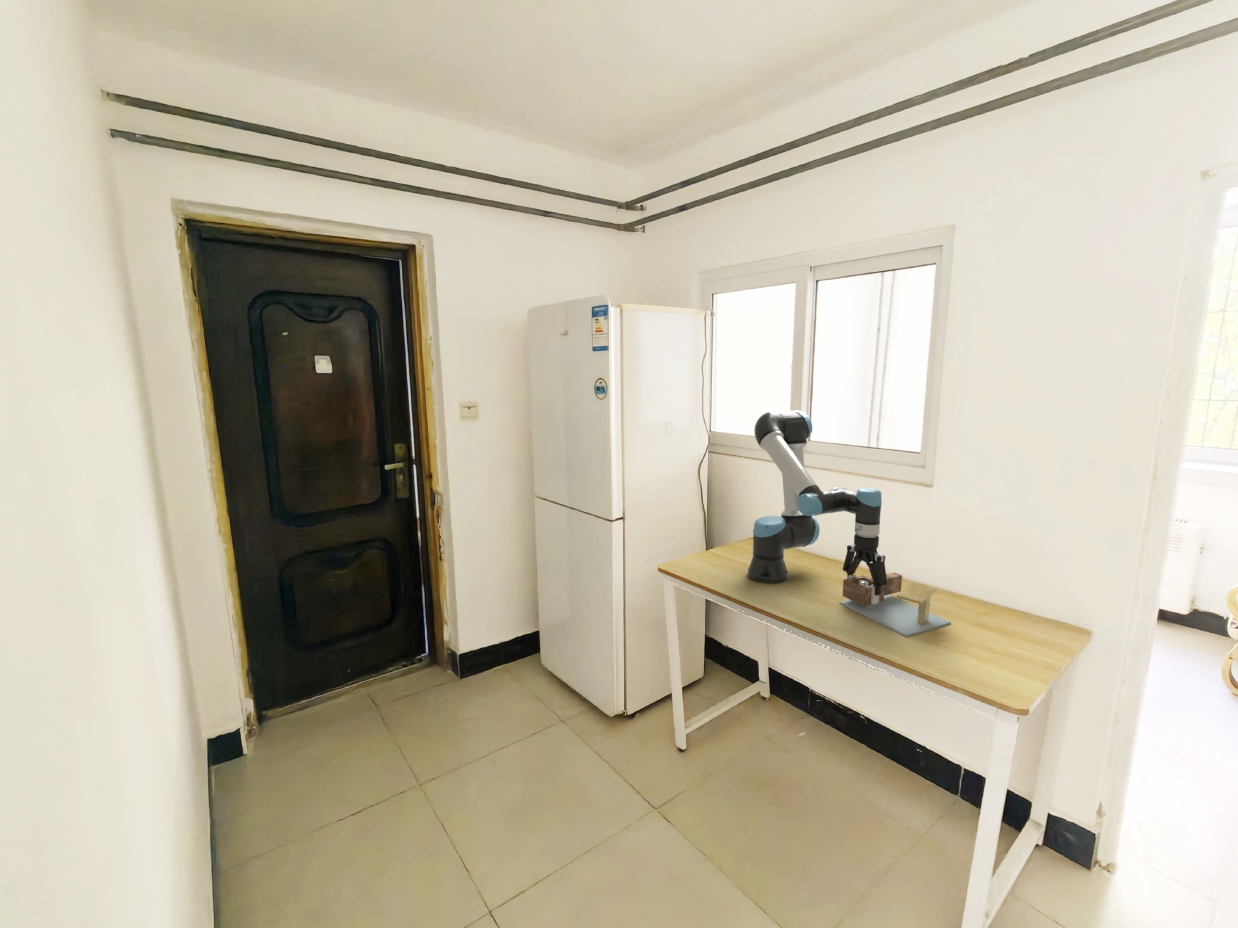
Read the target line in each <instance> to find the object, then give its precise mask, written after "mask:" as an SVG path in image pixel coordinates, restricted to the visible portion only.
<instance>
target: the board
mask: <svg viewBox="0 0 1238 928" xmlns="http://www.w3.org/2000/svg"><path fill="white" fill-rule="evenodd" d="M839 604H841V605H842V606H845V608H846V607H847V608H848V609H850V610H851V611H854V612H855V613H858V614H860V615H862V616H864V617H866V618H869V619H870V620H872V621H874V622H876V623H878V624H879V625H882V626H884V627H886V628H888V629H890V630H892V631H894V632H895V633H898V634H899V635H902V636H904V637H907V638H908V637H910V636H914V635H918V634H919V633H923V632H927V631H931V630H934V629H937V628H940V627H945V626H947V625H948V626H949V625H951V624H952V622H951V621H950V620H947V619H946V618H942V617H941V616H939V615H936V614H934V613H932V612H930V611H929V619H928V622H927V623H926V624H925V625H922V624H919V623H917V619H918V607H919V606H916V605H914V604H911V603H910V602H906V600H903V599H900V598H897V596H896V597H895V596H894V595H892V594H889V595H885V596H884V601H882V602H879V603H877V604H873V605H872V604H870V605H866V606H862V605H859V604H857V603H856V602H854V601H852V600H850V599H848V598H847V599H845V600H840V601H839Z"/></svg>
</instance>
